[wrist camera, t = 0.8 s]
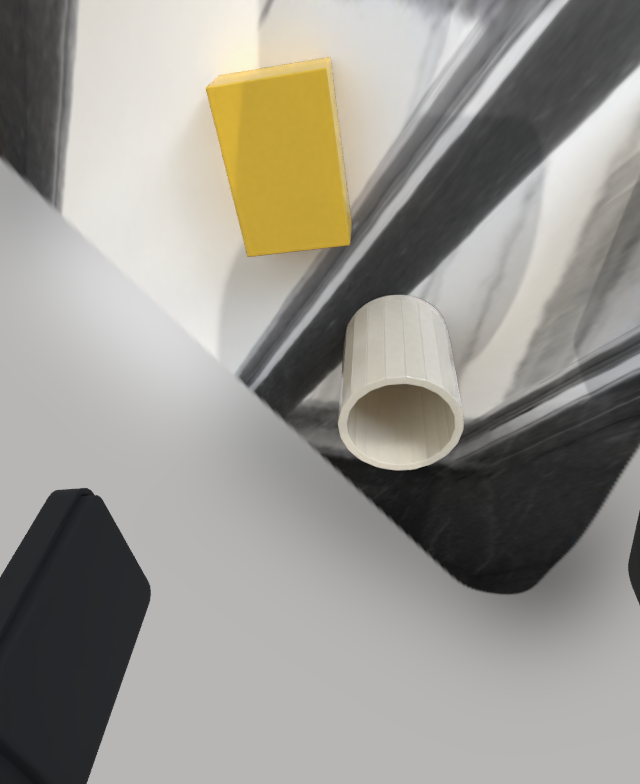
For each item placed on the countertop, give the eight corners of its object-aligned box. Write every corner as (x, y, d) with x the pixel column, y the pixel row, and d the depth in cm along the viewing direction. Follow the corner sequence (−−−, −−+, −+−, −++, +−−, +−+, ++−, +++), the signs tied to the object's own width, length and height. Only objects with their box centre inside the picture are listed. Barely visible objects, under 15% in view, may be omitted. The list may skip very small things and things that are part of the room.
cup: (338, 300, 39) (330, 382, 32) (446, 288, 38) (463, 372, 30) (351, 384, 43) (346, 473, 36) (449, 376, 42) (464, 466, 35)
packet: (218, 75, 31) (204, 87, 28) (330, 56, 30) (326, 67, 28) (255, 236, 36) (247, 257, 34) (351, 225, 35) (350, 245, 33)
